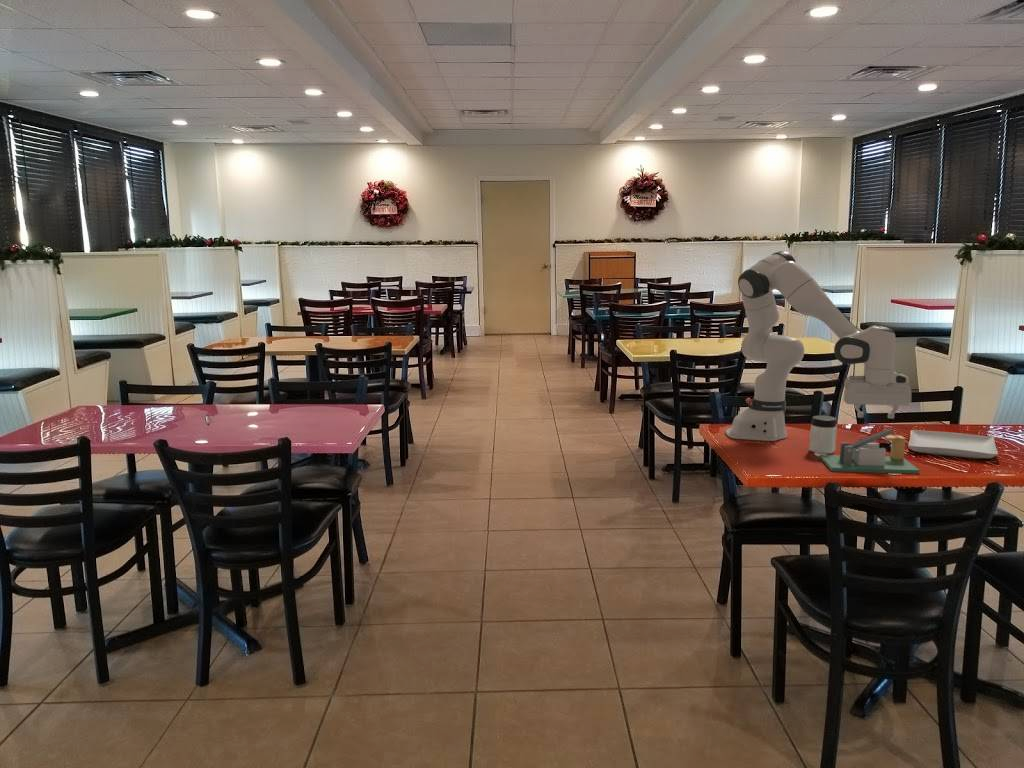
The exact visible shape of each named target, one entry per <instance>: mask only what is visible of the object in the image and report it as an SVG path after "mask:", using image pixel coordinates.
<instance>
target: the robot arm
mask: <svg viewBox="0 0 1024 768" xmlns="http://www.w3.org/2000/svg"><path fill="white" fill-rule="evenodd" d="M737 285H738V289H739V291H740V292H741V299H742V304H743V307H744V310H745V316H746V319H747V324H748V331H747V334H746V335H745V336H744V337H743V338H742V341H741V346H740V348H741V353H742V354H743V356H744V357H745V358H746V359H747V358H748V359H750V360H752V361H755V362H760V363H765V364H766V368H765V370H764V372H762V373H761V374H758V375H757V376H756V378H755V380H754V393H753V394H754V397H753V398H752V399H751V398H750V397H747V398H746V399H745V402H746V404H748V407H747V409H745V410H743V411H741V413H739V414H736V416H735V417H734V418H733V421H732V423H731V427H729V428H726V430H725V435H726V436H728V437H729V438H731V439H736V440H752V441H765V442H776V441H777V440H782V439H785V438H787V437H788V434H787V430H786V421H785V414H786V410H787V409H786V408H787V401H786V389H787V388H786V386H787V380H788V376H789V375H790V372H791V371H792V370H793V368H794V367H795V366H796V365H798V364H800V363H801V361H802V360H803V358H804V356H805V346H804V344H803V342H802V341H801V340H800V339H797V338H796V337H791V336H789V335H782V334H775V333H774V332H773V327H774V326H776V324H777V323H778V322H779V319H780V314H779V310H778V307H777V303H776V299H775V295H774V293H773V292H774V290H776V291H778V292H779V293H780V294H781V295H782V297H784V299H785V300H786V302H787V303H788V304H789V305H790V306H791V307H792V308H793V309H795V311H797V312H798V313H799V314H801V315H803V316H808V317H812V318H815V319H817V320H820V321H821V322H823V323H824V325H826V326H827V327H828V328H829V329H830V330H831V332H833V333H834V335H836V337H838V338H839V339H838V340H837V341H836V343H835V345H834V348H833V352H834V356H835V358H836V359H837V361H839V362H840V363H842V364H843V365H851V366H852V365H855V364H863V365H864V368H863V375H849V376H848V377H846V378H845V380H844V384H843V385H844V391H843V398H842V399H843V401H844V402H845V404H847V405H854V409H855V410H856V412H857V414H856V415H857V416H856V417H857V418H859V419H863V418H864V415H865V414H864V412H863V411H861V409H860V408H861V406H862V405H869V406H871V405H872V406H891V407H892V409H891V411H889V412H887V419H893V420H894V418H895V414H896V413H897V411H898V410H899V406H909V405H910V404H911V403H912V388H911V386H910V385H909V383H910V377H909V376H907V375H905V374H903V373H900V372H898V371H895V362H894V359H895V356H896V350H897V349H896V348H897V346H896V343H897V342H896V341H897V339H896V333H895V331H894V330H893V329H891V328H889V327H885V326H882V325H870V326H869V327H868V328H866V329H864V330H861V329H860V328H858V327H857V326H855V325H854V324H853V323H852V321H850V320H849V319H848V318H847V317H846V315H845V314H844V313H843V312H842V311H841V310H840V309H839V308H838V307H837V306H836V305H835V304H834V303H833V301H832V300H831V299H830V298H829V296H828V295H827V294H826V293H825V291H824V290H823V288H822V286H820V285H819V284H818V282H817V281H816V280H815V279H814V278H813V276H811V274H810V273H809V272H807V270H806V269H805V268H803V267H802V266H801V265H799V264H798V263H796V260H795V258H794V256H793V255H792V254H790V253H789V252H787V251H785V250H781V251H777V252H774V253H772V254H771V255H768V256H766V257H764V258H762V259H760V260H758V261H757V263H755V264H754V265H752V266H751V267H749V268H747V269H745V270H744V271H743V272H742V273H741V274H740V275H739V277H738V279H737Z"/></svg>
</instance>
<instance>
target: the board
mask: <svg viewBox="0 0 1024 768" xmlns="http://www.w3.org/2000/svg"><path fill="white" fill-rule="evenodd" d="M854 442H855V441H853V442H852V443H854ZM848 444H850V443H849V442H842V441H841V442H840V449H839V454H819V456H818V458H819V460H820V459H821V460H822V461H823V462H824V463H825V464H826V465H827V466H828V467H829V468H828V467H827V466H826V465H825V464H824V463H823V462H822V461H821V460H820V461H821V462H822V463H823V464H824V465H825V466H826V467H827V468H828V469H829V470H830V472H839V471H840V472H843V473H845V472H846V473H850V472H851V473H878V474H879V473H881V474H910V475H911V474H916V475H918V474H919V475H920V474H921V470H920V469H919V468H917V467H916V466H915V465H914V464H912V463H911V461H908V460H907V459H905V458H904V460H898V459H893V458H892V457H891V456H888V455H887V456H886V453H887V452H886V450H887V449H886V448H885V447H880V443H879V442H870V443H867V444H865V445H862V446H860V447H857V448H855V449H853V446H846V445H848ZM843 446H845V449H844V450H843V448H842V447H843Z"/></svg>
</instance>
